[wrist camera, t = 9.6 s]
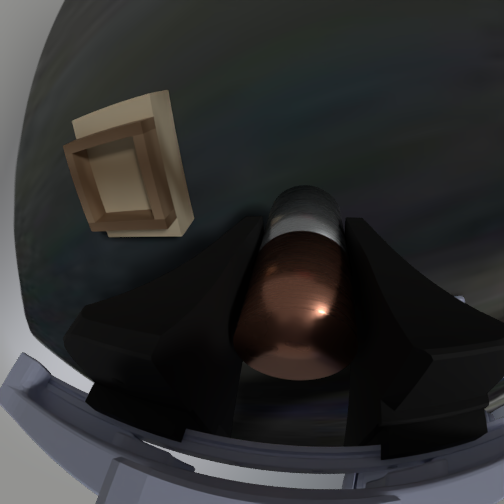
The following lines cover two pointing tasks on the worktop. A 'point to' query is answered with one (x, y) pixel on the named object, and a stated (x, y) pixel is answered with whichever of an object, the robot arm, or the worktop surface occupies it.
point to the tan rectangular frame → (131, 169)
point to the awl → (300, 292)
